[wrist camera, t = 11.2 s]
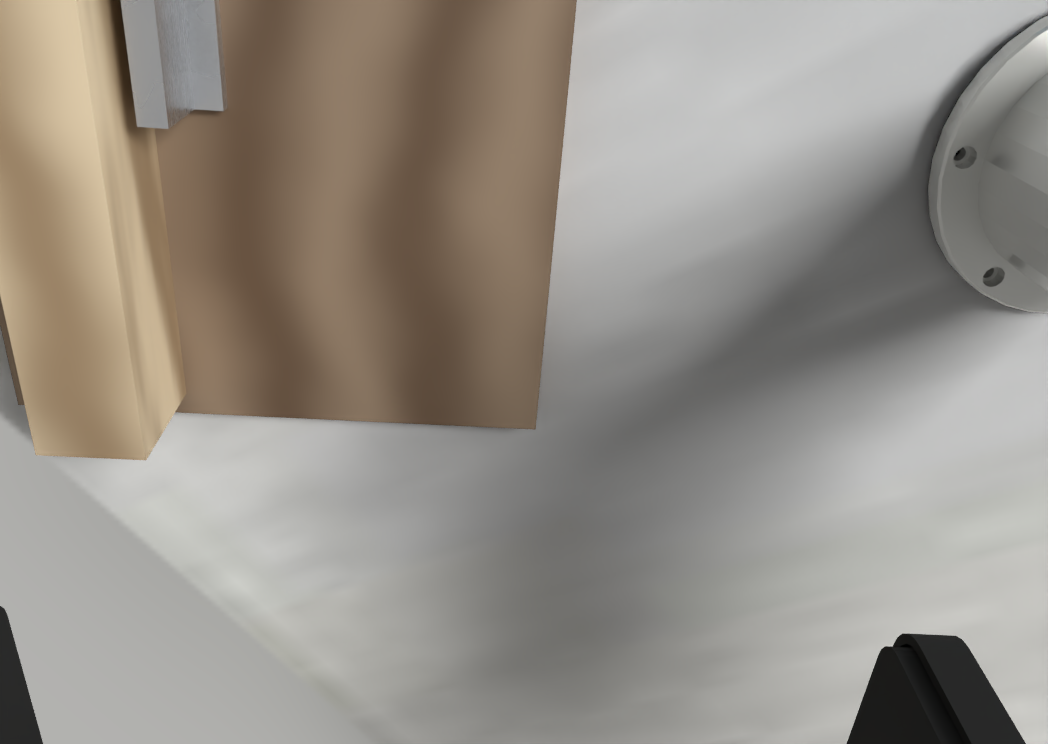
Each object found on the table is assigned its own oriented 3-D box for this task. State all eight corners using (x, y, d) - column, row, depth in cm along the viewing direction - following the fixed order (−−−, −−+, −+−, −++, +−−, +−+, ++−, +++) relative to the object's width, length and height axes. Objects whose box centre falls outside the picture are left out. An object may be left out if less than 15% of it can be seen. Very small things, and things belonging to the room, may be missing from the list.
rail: (129, -83, 29) (64, -77, 25) (186, 393, 38) (146, 460, 33) (2, -93, 29) (-85, -89, 24) (89, 388, 37) (35, 455, 33)
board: (589, -183, 29) (594, -186, 28) (533, 411, 40) (535, 429, 39) (-103, -246, 28) (-132, -253, 27) (34, 387, 39) (18, 404, 38)
